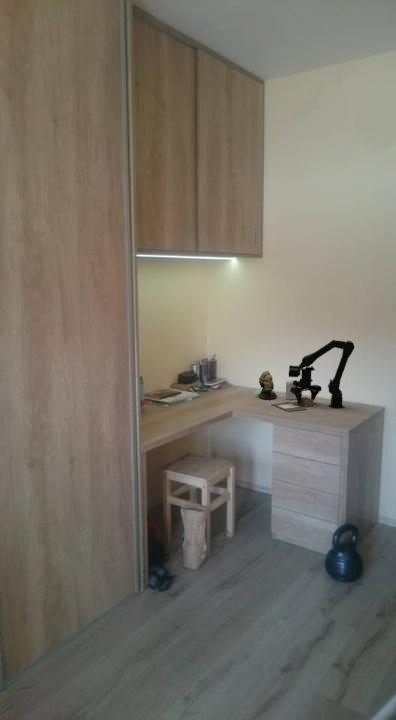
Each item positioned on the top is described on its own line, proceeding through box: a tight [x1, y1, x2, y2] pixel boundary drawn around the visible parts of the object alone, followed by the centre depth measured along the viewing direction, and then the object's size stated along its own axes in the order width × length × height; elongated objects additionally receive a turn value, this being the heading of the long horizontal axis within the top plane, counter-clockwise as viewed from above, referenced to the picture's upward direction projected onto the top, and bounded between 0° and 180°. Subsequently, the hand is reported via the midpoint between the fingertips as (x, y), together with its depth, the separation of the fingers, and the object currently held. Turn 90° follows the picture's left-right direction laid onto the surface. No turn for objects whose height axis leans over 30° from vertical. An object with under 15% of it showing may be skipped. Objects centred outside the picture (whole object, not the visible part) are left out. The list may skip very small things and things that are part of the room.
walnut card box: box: [298, 396, 315, 408], centre depth 310 cm, size 8×6×4 cm
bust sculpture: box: [258, 370, 278, 401], centre depth 329 cm, size 18×12×17 cm, turn 0°
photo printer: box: [285, 378, 303, 400], centre depth 325 cm, size 10×4×12 cm, turn 98°
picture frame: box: [271, 401, 307, 413], centre depth 305 cm, size 18×12×1 cm, turn 25°
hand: (305, 403), depth 310 cm, fingers open, 9 cm apart
